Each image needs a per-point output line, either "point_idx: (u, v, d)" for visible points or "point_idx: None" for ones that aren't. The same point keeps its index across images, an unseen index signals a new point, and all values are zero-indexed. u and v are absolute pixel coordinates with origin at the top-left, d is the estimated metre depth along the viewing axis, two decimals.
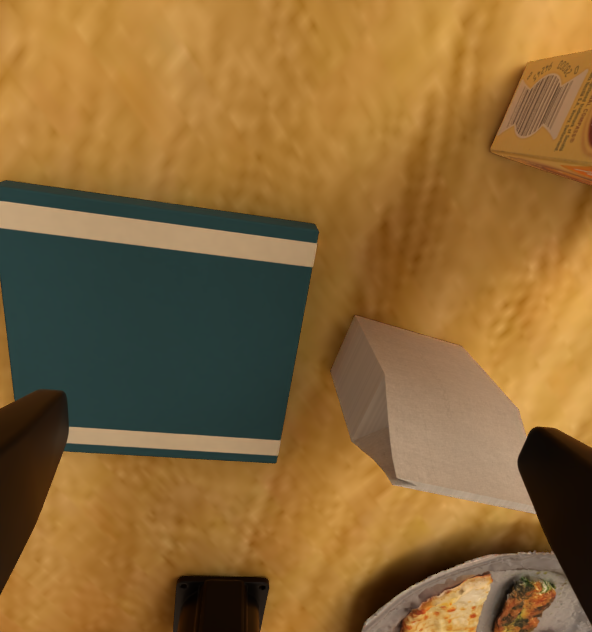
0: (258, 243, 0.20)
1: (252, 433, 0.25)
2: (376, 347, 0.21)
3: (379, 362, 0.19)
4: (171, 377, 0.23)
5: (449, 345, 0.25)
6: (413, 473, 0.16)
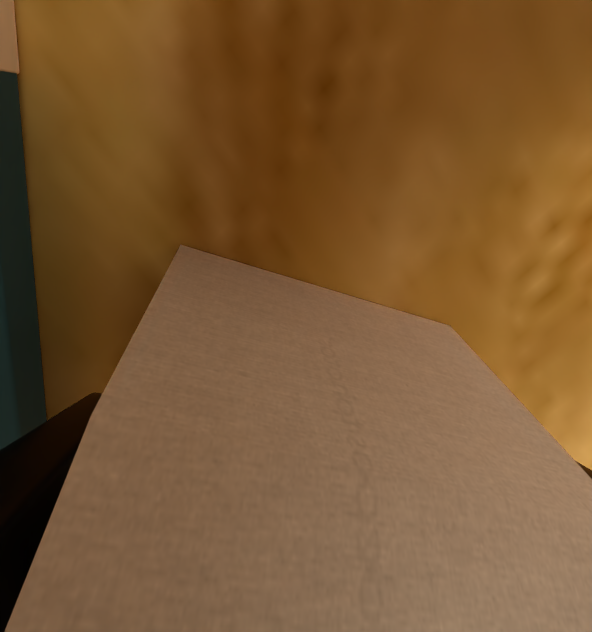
0: None
1: None
2: (168, 313, 0.07)
3: (122, 363, 0.05)
4: None
5: (419, 322, 0.10)
6: None
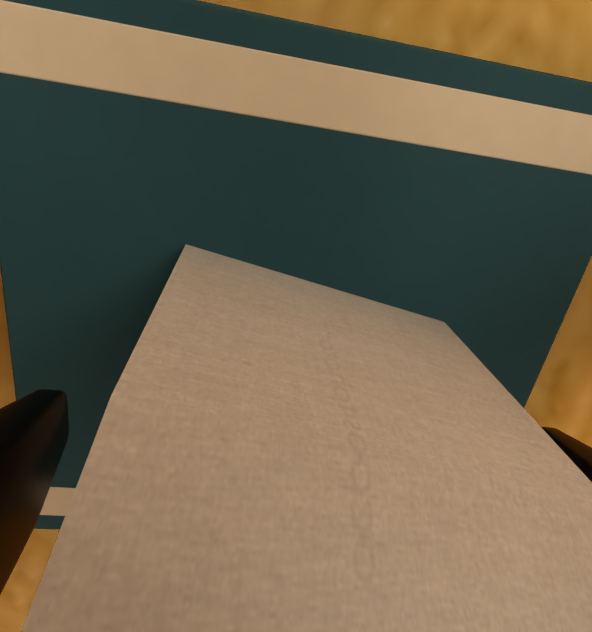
0: (537, 124, 0.10)
1: None
2: (177, 308, 0.07)
3: (136, 352, 0.06)
4: None
5: (413, 318, 0.11)
6: None
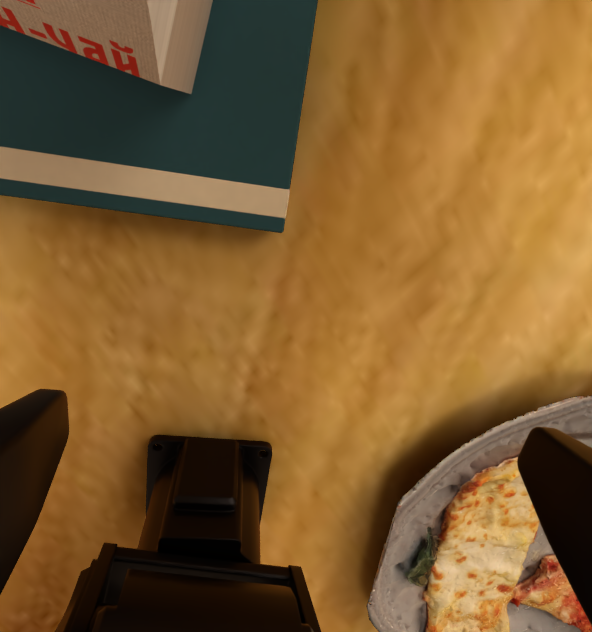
0: None
1: (248, 173, 0.17)
2: None
3: None
4: None
5: None
6: None
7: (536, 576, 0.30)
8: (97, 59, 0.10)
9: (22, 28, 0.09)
